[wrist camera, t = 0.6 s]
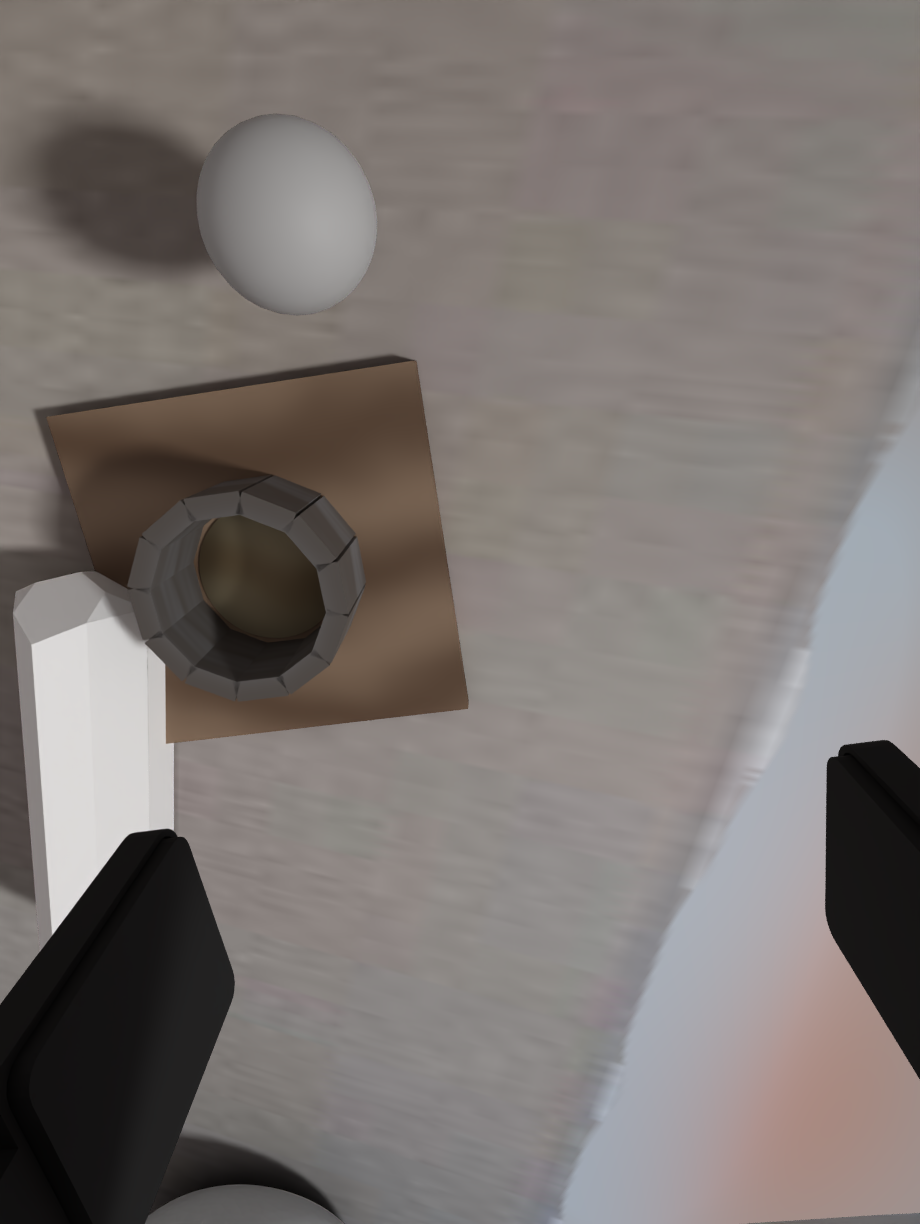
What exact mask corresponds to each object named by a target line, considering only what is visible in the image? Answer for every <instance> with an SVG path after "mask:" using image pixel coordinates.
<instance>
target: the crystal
mask: <svg viewBox="0 0 920 1224" xmlns="http://www.w3.org/2000/svg"><path fill="white" fill-rule="evenodd" d="M127 590H128V589H127V588H125V587H123V586H122V585H120V584H118V583H116V582H114V581H112V580H111V579H109V578H107V577H105V576H103V575H102V574H100V573H98V572H96V571H89V572H78V573H74V574H69V575H65V576H61V577H57V578H53V579H48V580H44V581H40V582H36V583H33V584H31V585H29V586H27V587H24V588H22V589H20V590H18V591H16V594H15V601H14V608H13V621H14V634H15V646H16V659H17V672H18V684H19V697H20V710H21V722H22V735H23V747H24V760H25V773H26V785H27V798H28V810H29V823H30V836H31V848H32V861H33V874H34V886H35V899H36V911H37V924H38V937H39V949H40V951H41V950H42V948H43V947H44V946H45V944H46V943H47V941H48V940H49V939H50V937H51V936H52V935H53V933H54V932H55V931H56V929H57V928H58V927H59V925H60V924H61V923H62V921H63V920H64V919H65V917H66V916H67V915H68V913H69V912H70V911H71V909H72V908H73V907H74V905H75V904H76V903H77V901H78V900H79V899H80V897H81V896H82V895H83V893H84V892H85V891H86V889H87V888H88V887H89V885H90V884H91V883H92V881H93V880H94V879H95V877H96V876H97V875H98V873H99V872H100V871H101V869H102V868H103V867H104V865H105V864H106V863H107V861H108V860H109V859H110V857H111V856H112V855H113V853H114V852H115V851H116V849H117V848H118V847H119V845H120V844H121V843H122V841H123V840H124V839H125V838H126V837H127V836H128V835H129V834H131V833H135V832H143V831H151V830H159V829H167V828H168V829H171V830H173V831H174V743H168V744H166V701H165V664H164V663H163V662H162V661H161V660H160V659H159V657H158V656H157V655H156V654H155V653H154V652H153V651H152V650H151V649H150V648H149V647H148V646H147V645H146V644H145V642H146V641H148V640H149V639H146V640H142V637H141V633H140V630H139V627H138V624H137V620H136V617H135V614H134V611H133V607H132V604H131V601H130V598H129V594H128V591H127ZM122 614H123V615H122ZM109 617H110V618H109ZM105 618H106V619H105ZM96 620H97V621H96ZM92 621H93V622H92ZM82 624H83V625H82ZM77 626H78V627H77ZM72 628H73V629H72ZM64 631H65V632H64ZM59 633H60V634H59ZM147 660H148V675H147ZM148 736H149V747H148ZM149 812H150V819H149Z"/></svg>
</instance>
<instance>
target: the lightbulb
mask: <svg viewBox="0 0 920 1224" xmlns="http://www.w3.org/2000/svg"><path fill="white" fill-rule="evenodd" d="M197 217H198V223H199V228H200V233H201V237H202V239H203V242H204V245H205V248H206V250H207V253H208V254H209V256H210V258H211V260H212V261H213V263H214V265H215V267H216V268H217V270H218V271H219V272H220V273H221V275H222V276H223V277H224V278H225V279H226V281H227V282H228V283H229V284H230V286H231V287H232V288H234V289H235V290H236V291H237V292H238V293H239V294H241V295H242V296H243V297H244V298H245V299H247V300H249V301H251V302H252V303H254V304H256V305H258V306H260V307H262V308H265V309H268V310H271V311H274V312H277V313H281V314H289V315H306V314H314V313H317V312H320V311H323V310H326V309H329V308H331V307H332V306H334V305H336V304H337V303H339V302H341V301H342V300H343V299H345V298H346V297H347V296H348V295H349V294H350V293H351V292H352V291H353V290H354V289H355V288H356V286H357V285H358V284H359V282H360V281H361V279H362V278H363V277H364V275H365V273H366V271H367V269H368V266H369V264H370V262H371V260H372V256H373V252H374V248H375V244H376V236H377V215H376V206H375V201H374V198H373V194H372V191H371V187H370V184H369V182H368V180H367V178H366V176H365V174H364V172H363V170H362V168H361V166H360V164H359V163H358V161H357V160H356V159H355V157H354V156H353V155H352V153H351V152H350V151H349V149H348V148H347V147H346V146H345V145H344V144H343V143H342V142H341V141H340V140H339V139H338V138H337V137H336V136H334V135H333V134H332V133H331V132H329V131H327V130H326V129H324V128H322V127H321V126H319V125H317V124H316V123H313V122H311V121H308V120H305V119H302V118H300V117H297V116H293V115H284V114H269V115H260V116H257V117H254V118H251V119H249V120H246V121H243V122H241V123H239V124H237V125H236V126H234V127H233V128H231V129H230V130H228V131H227V132H226V133H225V134H224V135H223V136H222V137H221V138H220V139H219V140H218V141H217V142H216V143H215V144H214V146H213V148H212V149H211V151H210V153H209V154H208V156H207V158H206V159H205V162H204V165H203V168H202V170H201V173H200V176H199V182H198V188H197Z"/></svg>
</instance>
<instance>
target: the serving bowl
mask: <svg viewBox="0 0 920 1224" xmlns="http://www.w3.org/2000/svg"><path fill="white" fill-rule="evenodd" d="M145 1224H344V1223H343V1222H342V1221H341V1220H340V1219H339V1218H338V1217H336V1216H335V1215H334V1214H332V1213H331V1212H329V1211H328V1210H327V1209H325V1208H323V1207H322V1206H320V1205H318V1204H316V1203H315V1202H312V1201H310V1200H308V1199H306V1198H304V1197H302V1196H299V1195H296V1194H294V1193H291V1192H287V1191H284V1190H280V1189H276V1188H272V1187H265V1186H259V1185H245V1184H237V1185H223V1186H215V1187H210V1188H205V1189H201V1190H198V1191H194V1192H191V1193H188V1194H186V1195H183V1196H181V1197H178V1198H176V1199H174V1200H172V1201H170V1202H169V1203H167V1204H165V1205H163V1206H162V1207H160V1208H159V1209H157V1210H156V1211H154V1212H153V1213H151V1214H150V1215H149V1216H148V1217H147V1220H146V1222H145Z"/></svg>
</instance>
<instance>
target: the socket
mask: <svg viewBox="0 0 920 1224" xmlns="http://www.w3.org/2000/svg"><path fill="white" fill-rule="evenodd" d="M46 418H47V421H48V424H49V428H50V431H51V434H52V437H53V440H54V443H55V446H56V449H57V453H58V456H59V459H60V462H61V465H62V468H63V471H64V475H65V478H66V481H67V484H68V487H69V490H70V493H71V497H72V500H73V503H74V506H75V509H76V512H77V515H78V518H79V522H80V525H81V528H82V531H83V534H84V537H85V540H86V544H87V547H88V550H89V553H90V556H91V559H92V562H93V566H94V569H95V571H96V572H98V573H100V574H102V575H103V576H105V577H107V578H109V579H111V580H112V581H114V582H116V583H118V584H120V585H122V586H123V587H125V588H127V589H128V590H127V591H128V594H129V598H130V601H131V604H132V607H133V611H134V614H135V617H136V620H137V624H138V627H139V630H140V633H141V637H142V640H146V639H149V640H148V641H146V642H145V644H146V645H147V646H148V647H149V648H150V649H151V650H152V651H153V652H154V653H155V654H156V655H157V656H158V657H159V659H160V660H161V661H162V662H163V663H164V664H165V701H166V744H168V743H177V742H186V741H194V740H203V739H211V738H220V737H229V736H237V735H246V734H255V733H263V732H272V731H280V730H289V729H298V728H306V727H315V726H323V725H332V724H341V723H349V722H358V721H367V720H375V719H384V718H392V717H401V716H410V715H418V714H427V713H436V712H444V711H453V710H461V709H468V694H467V688H466V681H465V674H464V668H463V661H462V655H461V648H460V642H459V635H458V629H457V622H456V616H455V609H454V603H453V596H452V590H451V583H450V577H449V570H448V564H447V557H446V551H445V544H444V538H443V531H442V525H441V518H440V512H439V505H438V498H437V492H436V485H435V479H434V472H433V466H432V459H431V453H430V446H429V440H428V433H427V427H426V420H425V414H424V407H423V401H422V394H421V388H420V381H419V375H418V368H417V362H416V361H408V362H401V363H395V364H388V365H382V366H375V367H369V368H362V369H356V370H349V371H343V372H336V373H330V374H323V375H317V376H310V377H304V378H297V379H291V380H284V381H277V382H271V383H264V384H258V385H251V386H245V387H238V388H232V389H225V390H219V391H212V392H206V393H199V394H193V395H186V396H180V397H173V398H167V399H160V400H153V401H147V402H140V403H134V404H127V405H121V406H114V407H108V408H101V409H95V410H88V411H82V412H75V413H69V414H62V415H56V416H49V417H46ZM122 615H123V614H122ZM147 675H148V660H147ZM148 738H149V736H148Z"/></svg>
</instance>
